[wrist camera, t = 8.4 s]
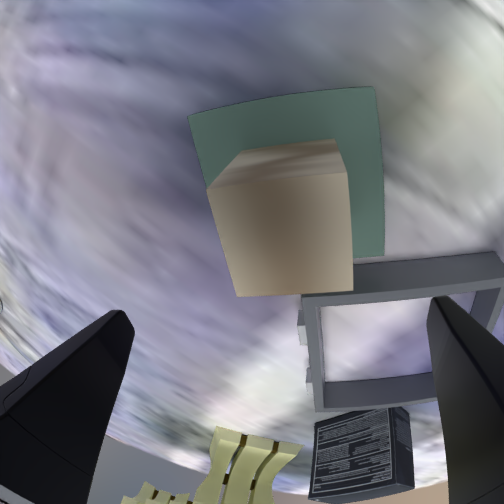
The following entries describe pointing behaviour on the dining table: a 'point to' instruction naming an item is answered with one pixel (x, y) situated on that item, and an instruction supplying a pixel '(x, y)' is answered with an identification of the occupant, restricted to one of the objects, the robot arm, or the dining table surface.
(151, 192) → the dining table surface
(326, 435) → the small box
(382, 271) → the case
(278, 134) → the mat
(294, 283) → the block
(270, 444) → the slatted curved stool
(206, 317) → the dining table surface
